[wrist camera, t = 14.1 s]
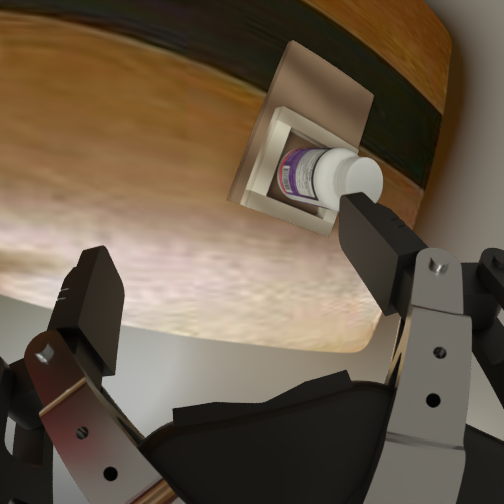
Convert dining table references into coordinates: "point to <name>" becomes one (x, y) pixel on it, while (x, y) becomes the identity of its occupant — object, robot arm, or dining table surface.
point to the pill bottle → (327, 176)
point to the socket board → (299, 133)
